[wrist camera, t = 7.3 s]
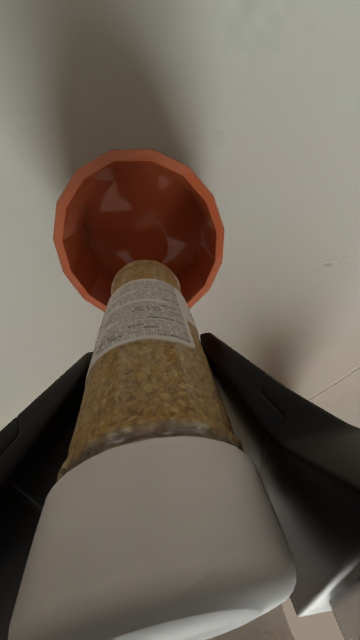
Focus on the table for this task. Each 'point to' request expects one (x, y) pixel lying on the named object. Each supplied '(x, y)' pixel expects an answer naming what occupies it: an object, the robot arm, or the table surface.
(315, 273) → the table surface
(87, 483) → the sprinkles bottle
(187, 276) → the bowl
